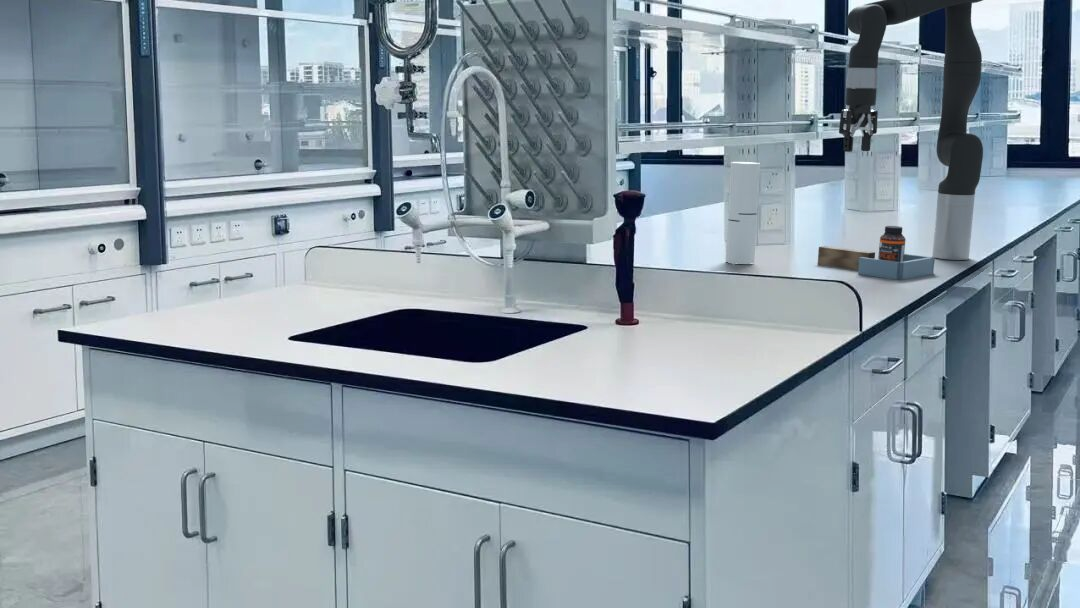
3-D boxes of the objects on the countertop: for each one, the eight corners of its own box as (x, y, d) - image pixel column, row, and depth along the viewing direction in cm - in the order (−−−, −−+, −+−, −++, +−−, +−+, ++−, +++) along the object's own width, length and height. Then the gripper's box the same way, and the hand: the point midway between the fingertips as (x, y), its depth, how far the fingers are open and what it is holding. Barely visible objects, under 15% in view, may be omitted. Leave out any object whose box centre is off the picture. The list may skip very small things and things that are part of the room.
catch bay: (858, 273, 268) (859, 257, 267) (891, 268, 279) (893, 252, 278) (900, 280, 260) (901, 263, 259) (933, 273, 271) (934, 257, 270)
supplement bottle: (875, 273, 269) (879, 226, 267) (878, 270, 274) (881, 224, 272) (901, 275, 267) (905, 228, 265) (904, 272, 272) (907, 226, 270)
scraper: (809, 265, 281) (811, 247, 280) (831, 262, 288) (832, 244, 287) (867, 273, 269) (868, 255, 269) (888, 270, 276) (889, 252, 276)
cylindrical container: (753, 265, 277) (760, 164, 273) (724, 264, 279) (730, 163, 274) (754, 261, 284) (760, 162, 280) (725, 260, 286) (731, 161, 281)
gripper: (862, 87, 290) (858, 150, 293) (833, 85, 281) (828, 151, 284) (889, 87, 285) (884, 151, 288) (860, 86, 275) (855, 152, 278)
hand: (856, 151), depth 286 cm, fingers open, 8 cm apart
